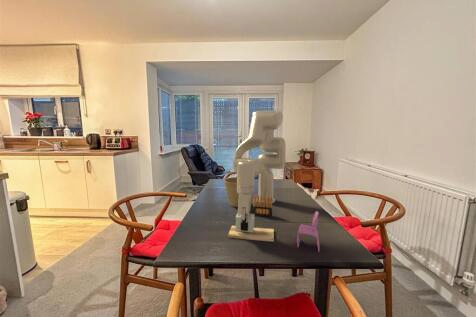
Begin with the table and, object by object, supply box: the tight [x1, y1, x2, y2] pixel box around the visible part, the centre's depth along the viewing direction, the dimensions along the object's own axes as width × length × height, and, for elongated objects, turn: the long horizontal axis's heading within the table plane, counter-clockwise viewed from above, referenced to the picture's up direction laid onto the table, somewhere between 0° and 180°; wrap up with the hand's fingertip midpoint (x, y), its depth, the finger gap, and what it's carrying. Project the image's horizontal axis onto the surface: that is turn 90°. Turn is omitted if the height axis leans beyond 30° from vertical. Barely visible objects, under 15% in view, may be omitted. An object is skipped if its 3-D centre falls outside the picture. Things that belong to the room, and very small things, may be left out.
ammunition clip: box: [252, 193, 273, 218], centre depth 115 cm, size 11×2×12 cm, turn 77°
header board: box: [227, 225, 275, 242], centre depth 95 cm, size 9×20×5 cm, turn 81°
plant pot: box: [223, 176, 239, 208], centre depth 130 cm, size 15×15×16 cm
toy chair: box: [296, 210, 320, 253], centre depth 85 cm, size 8×9×15 cm
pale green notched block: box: [235, 212, 256, 232], centre depth 95 cm, size 5×8×6 cm, turn 81°
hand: (245, 227), depth 95 cm, fingers closed on pale green notched block, 4 cm apart
